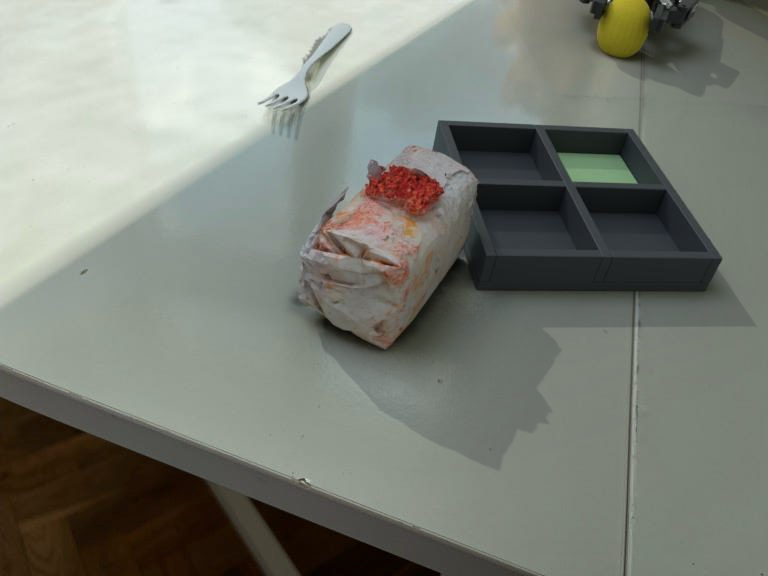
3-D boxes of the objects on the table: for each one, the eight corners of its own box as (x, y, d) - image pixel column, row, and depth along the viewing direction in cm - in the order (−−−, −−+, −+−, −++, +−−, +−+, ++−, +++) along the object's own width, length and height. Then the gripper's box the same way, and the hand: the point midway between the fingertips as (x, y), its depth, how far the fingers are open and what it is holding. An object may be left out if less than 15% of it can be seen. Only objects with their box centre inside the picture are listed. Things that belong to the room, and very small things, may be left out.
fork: (359, 27, 88) (361, 12, 87) (285, 128, 70) (286, 110, 69) (332, 21, 89) (334, 5, 87) (252, 120, 71) (252, 102, 69)
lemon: (624, 77, 87) (649, 7, 82) (580, 59, 90) (601, -10, 84) (643, 63, 91) (668, -5, 86) (600, 46, 93) (622, -22, 88)
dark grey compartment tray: (621, 159, 74) (633, 128, 72) (705, 291, 60) (723, 258, 58) (431, 152, 70) (438, 119, 68) (476, 290, 57) (486, 255, 55)
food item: (392, 370, 50) (416, 252, 44) (285, 321, 52) (293, 201, 46) (470, 258, 60) (499, 147, 53) (377, 220, 62) (394, 109, 55)
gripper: (599, -74, 96) (571, -34, 83) (718, -44, 93) (706, 2, 80) (581, -13, 101) (552, 33, 88) (693, 18, 98) (679, 69, 85)
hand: (626, 18), depth 84 cm, fingers closed on lemon, 5 cm apart
